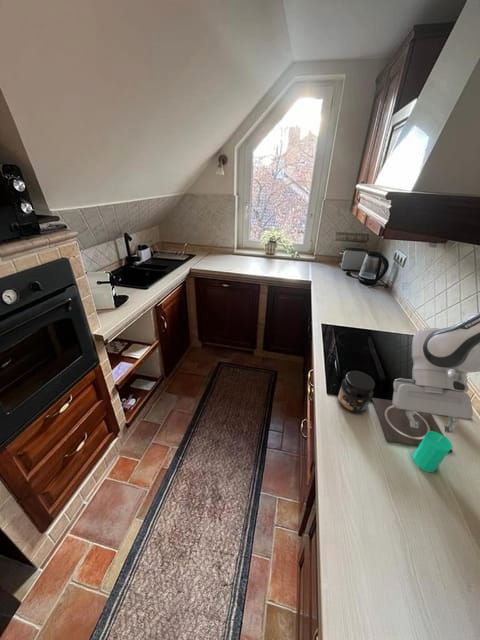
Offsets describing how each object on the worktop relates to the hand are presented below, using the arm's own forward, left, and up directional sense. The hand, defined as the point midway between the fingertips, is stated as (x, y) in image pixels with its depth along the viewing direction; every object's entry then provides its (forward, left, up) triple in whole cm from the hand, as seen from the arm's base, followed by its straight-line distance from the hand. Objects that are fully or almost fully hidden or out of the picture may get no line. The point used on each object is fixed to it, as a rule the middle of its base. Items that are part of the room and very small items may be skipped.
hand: (431, 430), depth 73 cm
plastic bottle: (-14, -19, -10) cm, 26 cm away
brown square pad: (-1, -10, -10) cm, 14 cm away
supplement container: (+17, -15, -10) cm, 25 cm away
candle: (0, +4, -10) cm, 11 cm away
